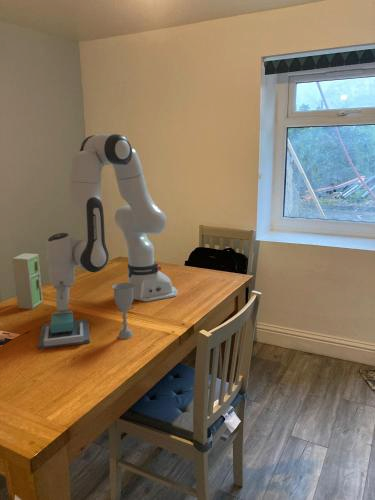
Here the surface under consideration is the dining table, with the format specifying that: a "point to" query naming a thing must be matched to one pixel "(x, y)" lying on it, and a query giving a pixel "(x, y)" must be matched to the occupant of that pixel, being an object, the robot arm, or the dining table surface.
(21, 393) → the dining table surface
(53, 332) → the teal handled box
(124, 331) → the chalice
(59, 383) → the dining table surface
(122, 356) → the dining table surface
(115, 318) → the dining table surface
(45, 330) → the loading dock
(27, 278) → the toy refrigerator
